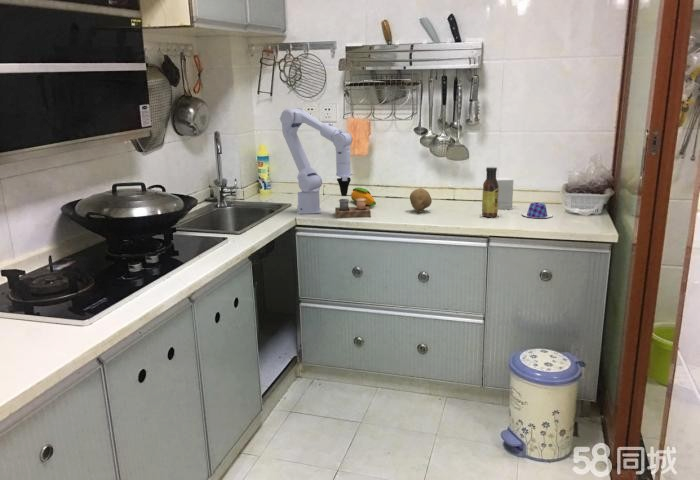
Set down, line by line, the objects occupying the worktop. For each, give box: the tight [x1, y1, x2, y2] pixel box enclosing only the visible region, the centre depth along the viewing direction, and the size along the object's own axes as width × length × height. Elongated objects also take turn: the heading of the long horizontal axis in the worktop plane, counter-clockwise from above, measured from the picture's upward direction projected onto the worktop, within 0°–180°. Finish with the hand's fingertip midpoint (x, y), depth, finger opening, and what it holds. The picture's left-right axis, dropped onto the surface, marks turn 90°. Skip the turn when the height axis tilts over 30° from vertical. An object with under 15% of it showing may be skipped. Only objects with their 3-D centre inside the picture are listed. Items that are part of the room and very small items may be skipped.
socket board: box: [334, 205, 372, 219], centre depth 245 cm, size 14×9×2 cm, turn 94°
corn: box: [350, 187, 377, 206], centre depth 264 cm, size 7×8×20 cm
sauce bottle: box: [481, 166, 499, 218], centre depth 237 cm, size 6×6×20 cm
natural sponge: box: [409, 187, 433, 213], centre depth 248 cm, size 9×9×10 cm
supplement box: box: [496, 176, 514, 210], centre depth 253 cm, size 7×7×13 cm
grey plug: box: [338, 198, 350, 210], centre depth 244 cm, size 4×4×4 cm
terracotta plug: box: [356, 198, 366, 210], centre depth 244 cm, size 4×4×4 cm
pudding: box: [521, 202, 553, 219], centre depth 238 cm, size 12×12×5 cm
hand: (344, 195), depth 243 cm, fingers closed
